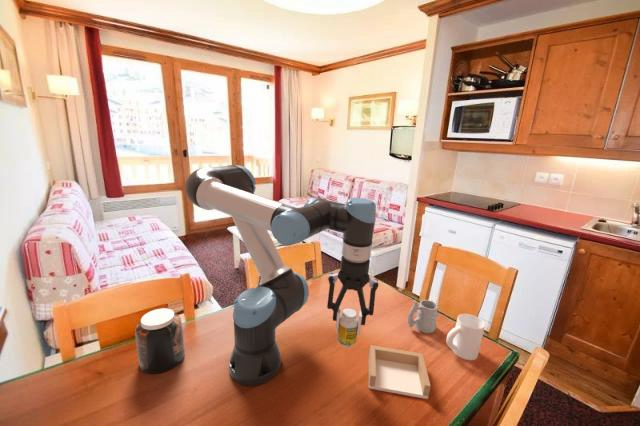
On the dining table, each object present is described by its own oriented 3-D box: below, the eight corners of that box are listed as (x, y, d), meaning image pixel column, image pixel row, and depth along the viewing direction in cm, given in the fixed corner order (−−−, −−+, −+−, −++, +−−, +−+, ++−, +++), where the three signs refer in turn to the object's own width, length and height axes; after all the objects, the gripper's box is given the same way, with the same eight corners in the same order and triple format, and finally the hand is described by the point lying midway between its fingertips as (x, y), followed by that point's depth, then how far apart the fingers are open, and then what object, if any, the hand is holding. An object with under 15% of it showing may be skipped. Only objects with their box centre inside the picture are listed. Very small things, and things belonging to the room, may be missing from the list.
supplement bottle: (348, 332, 85) (351, 304, 83) (359, 343, 81) (363, 315, 78) (333, 338, 82) (336, 310, 80) (345, 350, 78) (348, 320, 75)
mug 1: (440, 332, 104) (445, 304, 101) (411, 337, 101) (416, 307, 98) (427, 319, 111) (432, 292, 108) (400, 323, 108) (404, 295, 105)
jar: (150, 382, 78) (144, 336, 74) (133, 360, 85) (126, 317, 81) (191, 357, 87) (188, 315, 83) (172, 339, 94) (168, 300, 90)
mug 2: (436, 345, 97) (441, 315, 94) (464, 341, 100) (471, 311, 97) (452, 364, 90) (459, 332, 87) (483, 358, 93) (490, 327, 90)
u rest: (368, 388, 80) (370, 375, 78) (368, 356, 91) (370, 345, 90) (428, 399, 77) (430, 386, 76) (420, 365, 89) (422, 353, 87)
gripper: (319, 258, 72) (313, 334, 79) (392, 268, 69) (380, 346, 76) (323, 247, 79) (318, 318, 86) (390, 255, 77) (379, 328, 83)
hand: (347, 331), depth 81 cm, fingers closed on supplement bottle, 5 cm apart
